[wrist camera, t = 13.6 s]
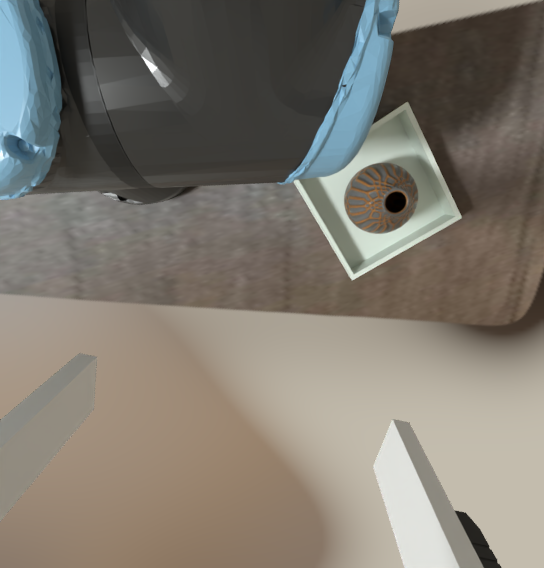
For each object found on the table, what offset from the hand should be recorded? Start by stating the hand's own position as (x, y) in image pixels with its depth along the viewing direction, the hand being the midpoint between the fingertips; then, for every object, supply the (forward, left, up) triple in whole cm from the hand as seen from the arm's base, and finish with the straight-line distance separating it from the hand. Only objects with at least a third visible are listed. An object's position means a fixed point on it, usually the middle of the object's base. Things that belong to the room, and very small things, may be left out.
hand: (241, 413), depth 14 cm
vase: (-1, +14, -26) cm, 30 cm away
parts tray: (0, +14, -27) cm, 30 cm away
